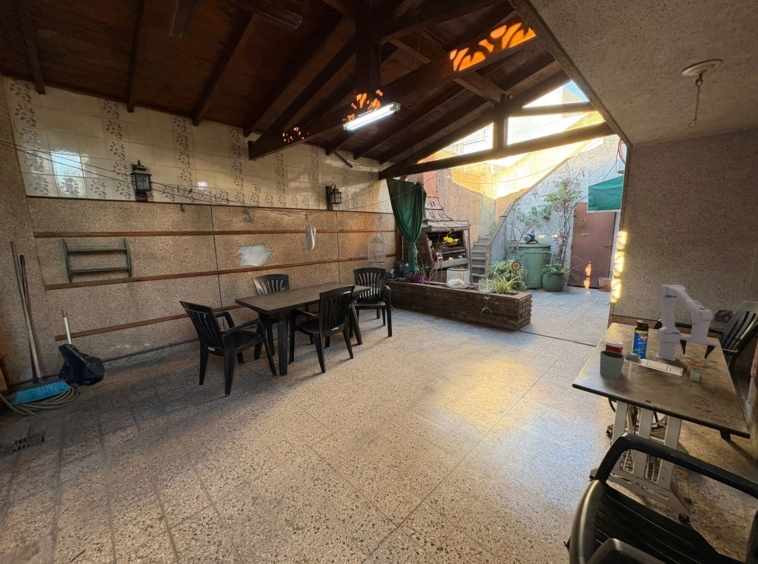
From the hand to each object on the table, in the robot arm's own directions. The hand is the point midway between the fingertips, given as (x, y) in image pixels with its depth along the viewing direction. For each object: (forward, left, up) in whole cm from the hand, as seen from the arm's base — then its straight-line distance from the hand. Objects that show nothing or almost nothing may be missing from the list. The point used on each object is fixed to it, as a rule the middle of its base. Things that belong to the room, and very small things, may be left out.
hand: (694, 356), depth 153 cm
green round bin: (+34, -29, -10) cm, 46 cm away
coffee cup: (+22, -30, -10) cm, 39 cm away
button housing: (+3, -24, -9) cm, 25 cm away
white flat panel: (+3, -15, -10) cm, 18 cm away
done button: (+3, -24, -8) cm, 25 cm away
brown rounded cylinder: (0, 0, -10) cm, 10 cm away
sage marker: (+9, +1, -10) cm, 13 cm away
